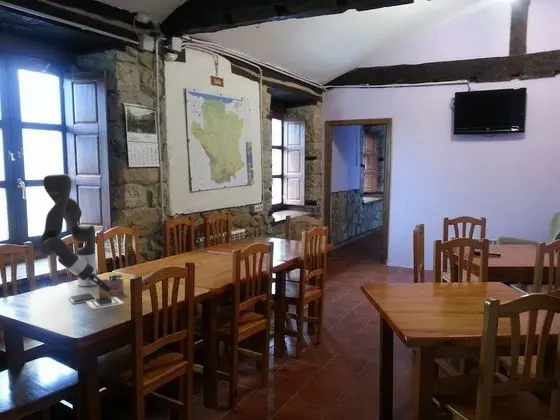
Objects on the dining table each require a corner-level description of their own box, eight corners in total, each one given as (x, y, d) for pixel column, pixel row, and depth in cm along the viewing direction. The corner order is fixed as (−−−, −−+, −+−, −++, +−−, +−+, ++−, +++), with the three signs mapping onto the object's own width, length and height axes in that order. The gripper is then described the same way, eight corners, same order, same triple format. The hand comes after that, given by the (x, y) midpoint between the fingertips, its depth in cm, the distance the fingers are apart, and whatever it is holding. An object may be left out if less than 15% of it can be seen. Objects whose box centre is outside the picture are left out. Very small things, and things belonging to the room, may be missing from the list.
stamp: (96, 302, 218) (95, 279, 217) (108, 299, 222) (107, 277, 221) (99, 304, 214) (98, 282, 213) (111, 302, 217) (111, 280, 216)
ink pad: (68, 298, 226) (68, 296, 225) (91, 295, 232) (91, 292, 232) (73, 304, 217) (73, 301, 217) (97, 300, 223) (97, 297, 223)
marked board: (86, 303, 219) (86, 301, 219) (115, 297, 227) (115, 296, 227) (92, 309, 209) (92, 307, 209) (123, 303, 217) (123, 302, 217)
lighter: (107, 295, 231) (106, 276, 230) (107, 293, 234) (106, 274, 233) (123, 294, 233) (122, 275, 232) (124, 292, 237) (123, 273, 235)
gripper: (90, 264, 206) (117, 285, 214) (82, 259, 217) (108, 279, 225) (78, 277, 203) (105, 298, 211) (71, 271, 215) (97, 291, 223)
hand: (107, 288), depth 218 cm, fingers open, 8 cm apart
